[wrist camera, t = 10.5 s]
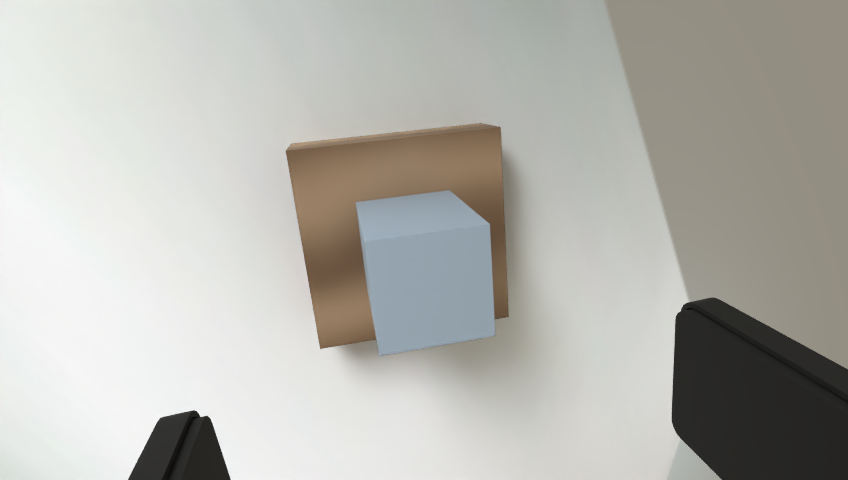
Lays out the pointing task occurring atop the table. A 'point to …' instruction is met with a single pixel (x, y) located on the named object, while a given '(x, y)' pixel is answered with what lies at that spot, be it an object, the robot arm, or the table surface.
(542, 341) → the table surface
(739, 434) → the robot arm
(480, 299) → the slate block
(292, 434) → the table surface
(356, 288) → the walnut block
